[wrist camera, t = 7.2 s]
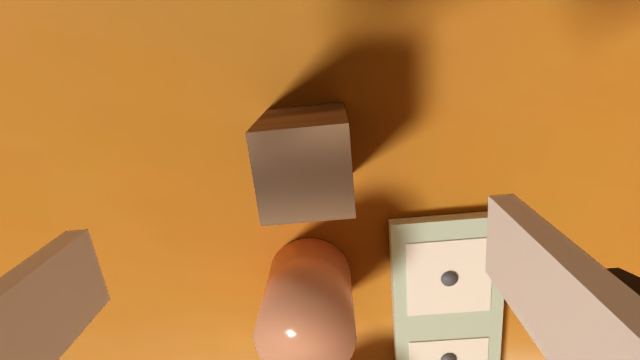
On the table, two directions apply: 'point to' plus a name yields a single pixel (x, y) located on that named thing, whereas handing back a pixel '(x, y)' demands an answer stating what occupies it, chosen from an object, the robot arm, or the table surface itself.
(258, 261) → the table surface
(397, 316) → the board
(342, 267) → the peach capsule
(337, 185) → the walnut block
